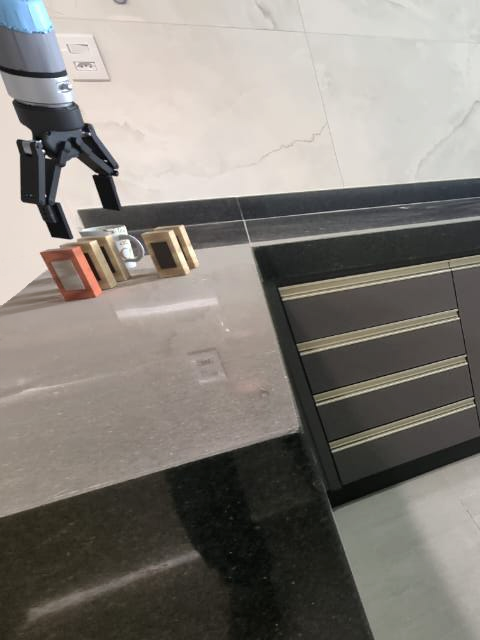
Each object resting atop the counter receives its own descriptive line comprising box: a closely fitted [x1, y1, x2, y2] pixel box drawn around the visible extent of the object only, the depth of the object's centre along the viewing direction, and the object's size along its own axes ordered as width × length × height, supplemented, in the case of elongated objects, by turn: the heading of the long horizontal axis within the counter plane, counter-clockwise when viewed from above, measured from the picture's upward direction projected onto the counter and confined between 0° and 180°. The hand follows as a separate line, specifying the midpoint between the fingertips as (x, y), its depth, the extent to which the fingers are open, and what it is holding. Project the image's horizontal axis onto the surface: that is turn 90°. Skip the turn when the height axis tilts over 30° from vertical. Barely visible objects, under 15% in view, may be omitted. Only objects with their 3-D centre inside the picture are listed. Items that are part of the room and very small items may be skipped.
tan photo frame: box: [59, 234, 132, 291], centre depth 116 cm, size 5×10×10 cm, turn 23°
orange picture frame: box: [39, 246, 104, 302], centre depth 107 cm, size 5×3×10 cm, turn 113°
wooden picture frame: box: [140, 224, 200, 279], centre depth 124 cm, size 5×10×10 cm, turn 23°
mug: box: [78, 224, 145, 270], centre depth 130 cm, size 8×13×10 cm, turn 88°
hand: (89, 222), depth 98 cm, fingers open, 13 cm apart
